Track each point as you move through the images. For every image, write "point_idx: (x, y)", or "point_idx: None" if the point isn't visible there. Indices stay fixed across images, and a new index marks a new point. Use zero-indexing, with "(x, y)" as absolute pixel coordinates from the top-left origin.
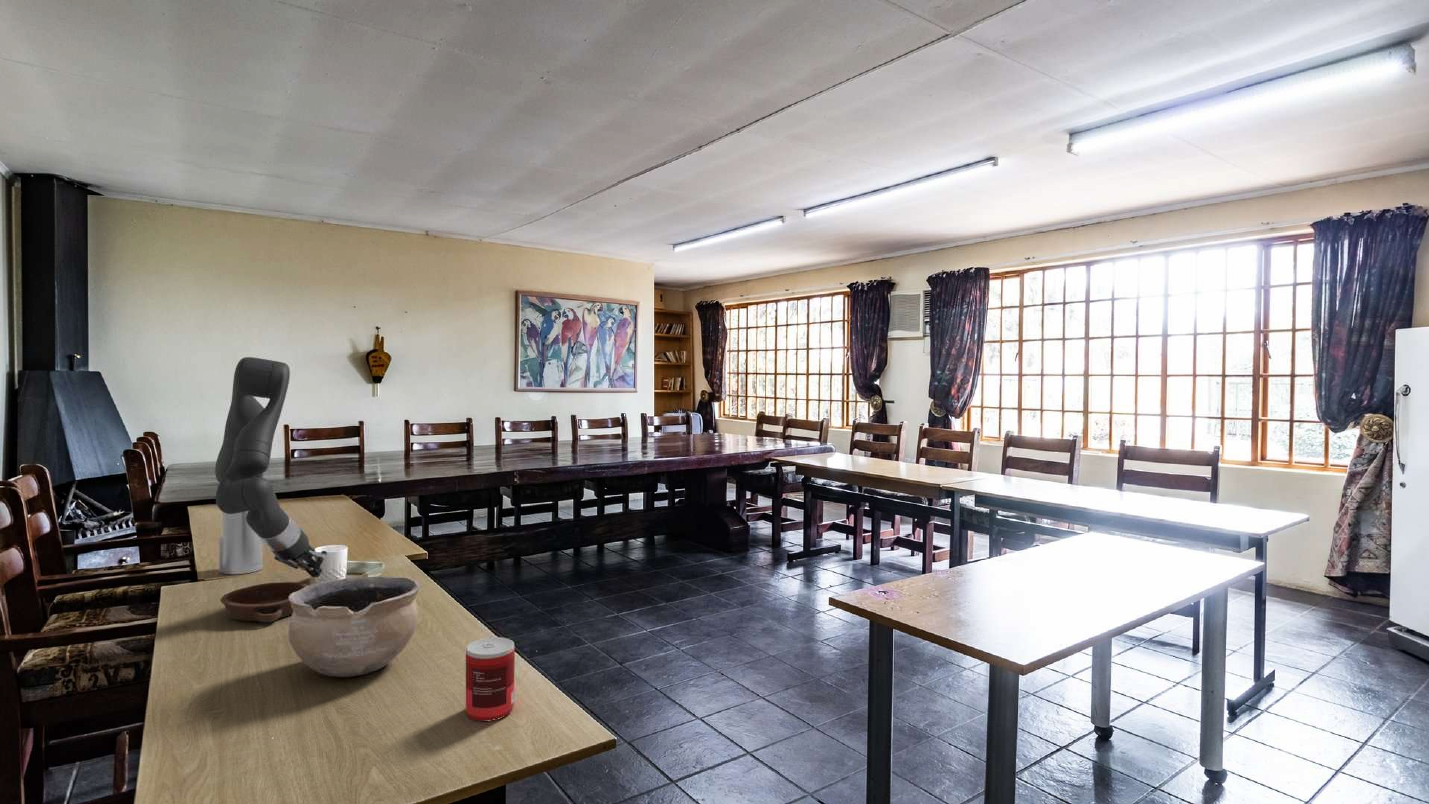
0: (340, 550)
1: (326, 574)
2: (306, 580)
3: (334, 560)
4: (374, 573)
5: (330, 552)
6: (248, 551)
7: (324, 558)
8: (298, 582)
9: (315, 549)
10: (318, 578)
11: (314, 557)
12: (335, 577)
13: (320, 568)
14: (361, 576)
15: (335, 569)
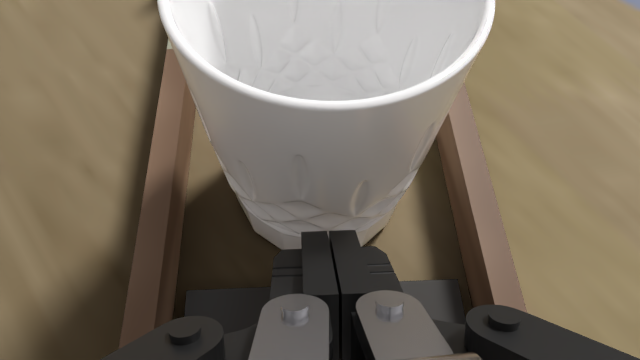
0: (491, 17)
1: (363, 212)
2: (171, 201)
3: (440, 124)
4: None
5: (440, 84)
6: None
7: (374, 148)
8: (148, 263)
9: (170, 6)
10: (295, 230)
11: (236, 129)
12: (403, 192)
13: (392, 271)
14: (463, 89)
15: (419, 163)
